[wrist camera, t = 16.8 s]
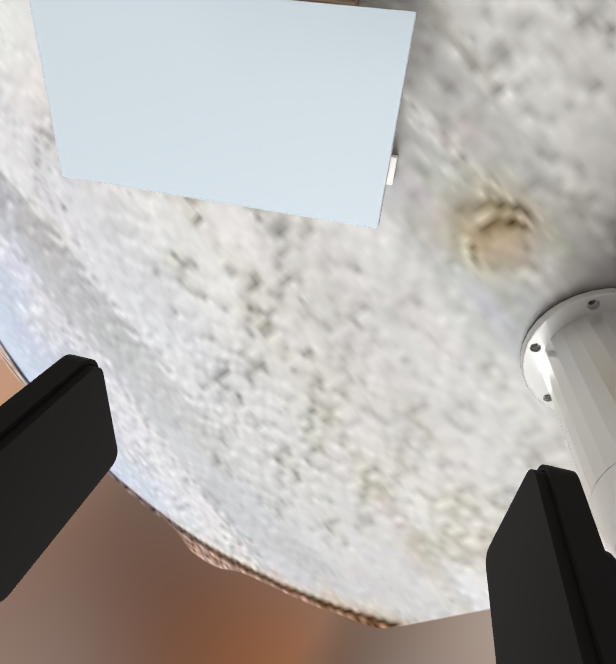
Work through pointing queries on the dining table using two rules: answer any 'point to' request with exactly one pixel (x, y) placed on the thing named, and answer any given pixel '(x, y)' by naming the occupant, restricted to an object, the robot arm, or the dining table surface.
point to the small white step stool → (229, 99)
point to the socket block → (336, 2)
